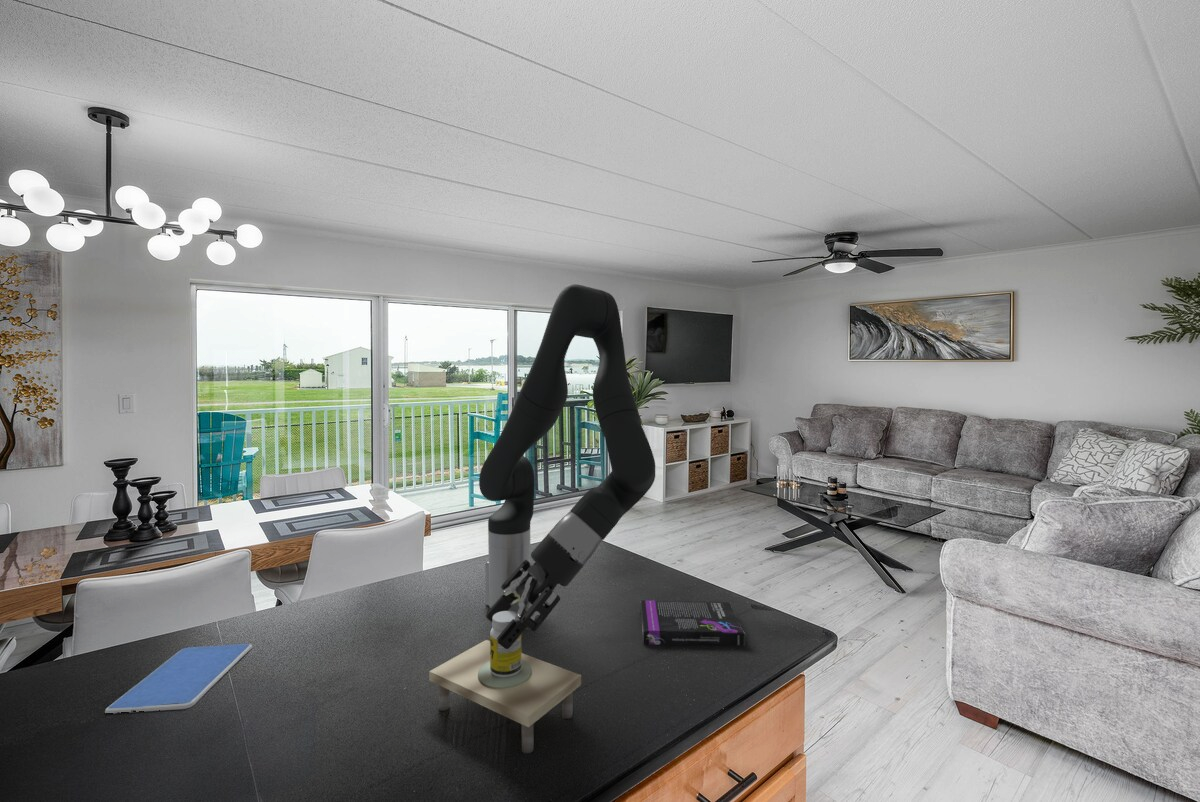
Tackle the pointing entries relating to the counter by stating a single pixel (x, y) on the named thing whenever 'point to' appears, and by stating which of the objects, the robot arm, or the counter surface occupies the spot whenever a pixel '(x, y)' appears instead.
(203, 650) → the tablet computer
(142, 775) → the counter surface
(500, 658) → the supplement bottle
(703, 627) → the box
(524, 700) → the shelf stand
